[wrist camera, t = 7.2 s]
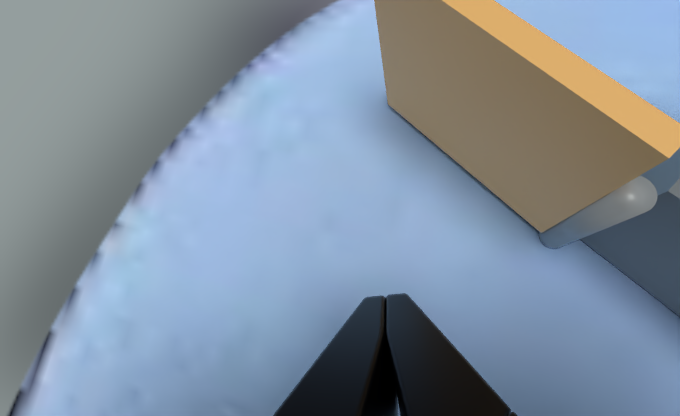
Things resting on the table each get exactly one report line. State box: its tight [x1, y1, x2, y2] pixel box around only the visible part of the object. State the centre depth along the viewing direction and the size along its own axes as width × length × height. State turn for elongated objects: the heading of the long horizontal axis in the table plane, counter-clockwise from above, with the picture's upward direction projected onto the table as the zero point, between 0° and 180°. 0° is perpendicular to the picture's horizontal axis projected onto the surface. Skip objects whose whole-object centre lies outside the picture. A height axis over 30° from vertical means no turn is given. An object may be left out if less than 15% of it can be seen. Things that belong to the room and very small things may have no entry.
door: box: [374, 0, 680, 249], centre depth 13 cm, size 9×1×8 cm, turn 44°
